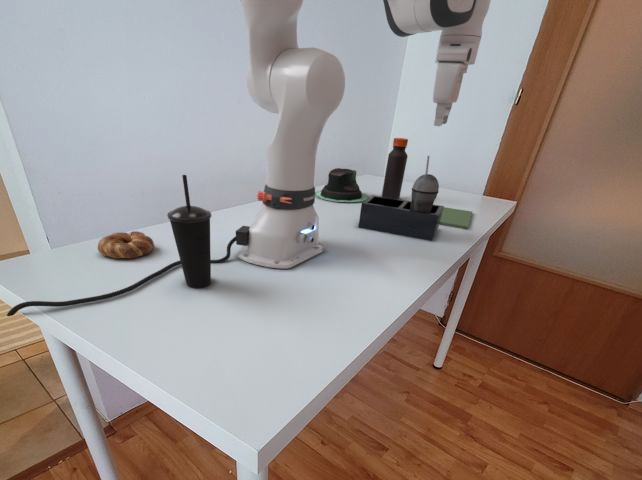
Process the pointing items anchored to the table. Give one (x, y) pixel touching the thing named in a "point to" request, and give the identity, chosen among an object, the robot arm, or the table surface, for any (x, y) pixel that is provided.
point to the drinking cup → (192, 241)
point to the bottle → (395, 169)
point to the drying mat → (455, 218)
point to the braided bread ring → (125, 245)
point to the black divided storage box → (399, 218)
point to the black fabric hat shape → (342, 187)
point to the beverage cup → (424, 192)
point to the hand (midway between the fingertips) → (440, 124)
